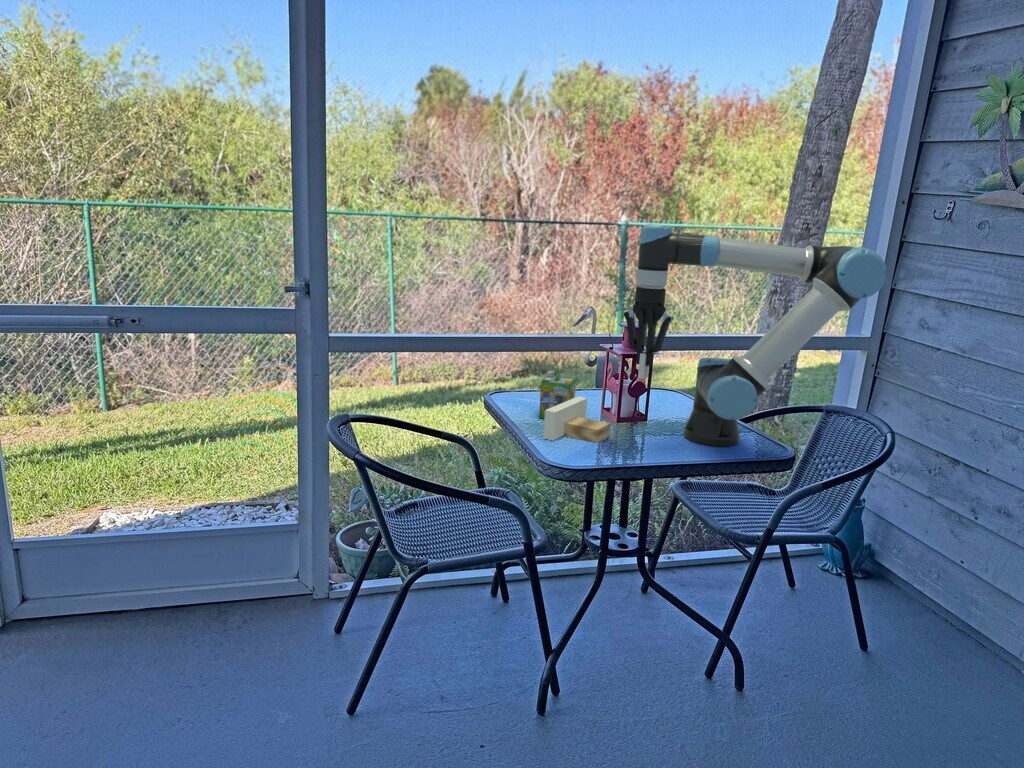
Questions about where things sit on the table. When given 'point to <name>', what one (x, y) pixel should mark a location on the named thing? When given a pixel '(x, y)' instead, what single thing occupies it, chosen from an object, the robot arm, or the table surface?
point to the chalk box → (555, 391)
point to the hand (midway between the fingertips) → (642, 377)
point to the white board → (563, 416)
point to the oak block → (587, 429)
